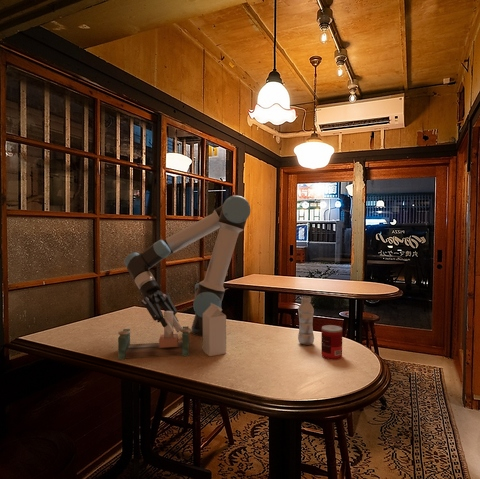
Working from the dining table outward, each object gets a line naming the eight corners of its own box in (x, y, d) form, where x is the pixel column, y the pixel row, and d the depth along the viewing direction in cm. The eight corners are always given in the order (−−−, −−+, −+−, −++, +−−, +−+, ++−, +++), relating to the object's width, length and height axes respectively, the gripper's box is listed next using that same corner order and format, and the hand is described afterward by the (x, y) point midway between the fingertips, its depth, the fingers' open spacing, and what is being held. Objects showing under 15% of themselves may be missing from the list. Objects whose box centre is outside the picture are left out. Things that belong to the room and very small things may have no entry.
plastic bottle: (314, 347, 145) (314, 298, 144) (297, 346, 146) (297, 298, 145) (314, 342, 151) (314, 295, 150) (298, 341, 152) (298, 295, 152)
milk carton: (209, 356, 134) (209, 307, 133) (202, 351, 140) (202, 303, 140) (226, 353, 137) (226, 305, 136) (218, 348, 143) (218, 302, 143)
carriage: (178, 341, 144) (177, 309, 143) (177, 346, 137) (177, 313, 136) (160, 341, 143) (160, 310, 142) (159, 347, 136) (158, 314, 135)
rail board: (191, 345, 147) (190, 325, 147) (191, 355, 135) (191, 333, 135) (121, 348, 143) (121, 328, 143) (115, 359, 131) (115, 337, 131)
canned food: (343, 354, 136) (343, 326, 136) (340, 361, 129) (340, 331, 129) (323, 351, 140) (323, 324, 139) (319, 358, 132) (319, 329, 132)
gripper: (158, 288, 155) (185, 332, 146) (126, 293, 141) (154, 342, 132) (166, 277, 152) (195, 321, 143) (135, 281, 138) (164, 330, 129)
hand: (175, 331), depth 137 cm, fingers closed on carriage, 4 cm apart
